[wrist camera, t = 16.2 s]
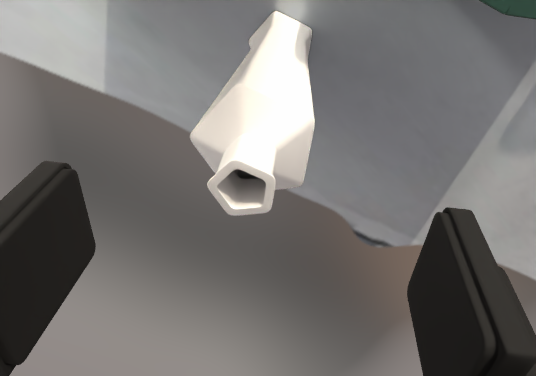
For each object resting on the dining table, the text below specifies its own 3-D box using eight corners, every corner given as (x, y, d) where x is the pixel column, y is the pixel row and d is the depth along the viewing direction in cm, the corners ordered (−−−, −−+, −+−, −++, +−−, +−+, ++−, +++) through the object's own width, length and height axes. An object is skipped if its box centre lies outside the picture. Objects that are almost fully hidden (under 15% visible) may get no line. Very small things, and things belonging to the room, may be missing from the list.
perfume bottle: (313, -4, 23) (304, 109, 11) (323, 72, 25) (324, 233, 13) (235, 12, 24) (146, 132, 12) (252, 83, 26) (192, 243, 14)
